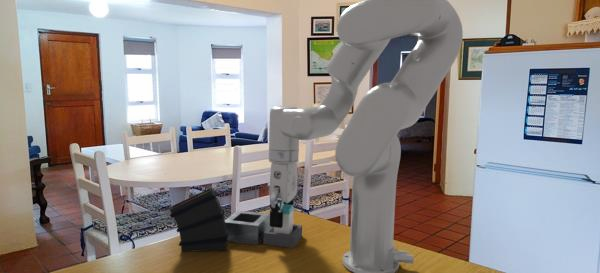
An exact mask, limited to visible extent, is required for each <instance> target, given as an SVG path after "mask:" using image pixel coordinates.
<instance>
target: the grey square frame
mask: <svg viewBox="0 0 600 273" xmlns="http://www.w3.org/2000/svg"><path fill="white" fill-rule="evenodd" d="M302 237H303V225H302V224H294V223H293V233H292V234H283V233H274V227H271V226H270V227H269V228H268V229H267V230H266V231H265V232H264V239H263V245H267V246H276V247H282V248H284V247H285V248H291V249H292V248H293V249H295V247H297V245H298V243H299V241H300V240H301V239H302Z"/></svg>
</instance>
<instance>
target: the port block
mask: <svg viewBox="0 0 600 273" xmlns="http://www.w3.org/2000/svg"><path fill="white" fill-rule="evenodd" d="M224 220H225V223H226V232H228V239H227V242H229V243H230V242H232V243H239V244H247V245H257V246H259V244H260V243H261V242H262V241H264V232H265V231H266V230H267V229H268V228H269V227H270V213H263V212H253V211H245V210H244V211H243V210H236V211H235V212H234V213H233V214H231V215H230V216H228V217H227V218H226V219H224Z"/></svg>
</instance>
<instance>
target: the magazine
mask: <svg viewBox="0 0 600 273" xmlns="http://www.w3.org/2000/svg"><path fill="white" fill-rule="evenodd" d="M217 194H218V192H217V190H214V189H213V187H210V188H208V189H205V190H203V191H201V192H198V193H197V194H194V195H193V196H191V197H189V198H186V199H184V200H182V201H180V202H178V203H176V204H173V205H172V206H171V207H170V208H169V211H170V215H169V217H170V218H171V219H174V221H175V224H176V226H177V229H176V232H177V233H179V237H180V238H179V239H180V241H179V243H178V246H179V247H180V250H181V252H219V251H220V252H225V251H227V248H228V241H227V239H228V232H226V223H225V220H226V219H225V217H224V216H225V210H224V208H223V209H222V207H221V203H220V201H219V198H218V197H217V196H218V195H217Z"/></svg>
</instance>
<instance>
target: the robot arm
mask: <svg viewBox="0 0 600 273" xmlns="http://www.w3.org/2000/svg"><path fill="white" fill-rule="evenodd" d="M337 20H338V21H337V26H336V32H337V33H336V34H337V36H338V38H339V41H341V42H340V44H339V45H338V47H337V48H336V50H335V52H334V53H333V55H332V57H331V58H330V59H329V61H328V63H327V64H326V71H327V73H328V74H329V76H330V79H331V84H330V88H329V90H328V92H327V94H326V96H325V97H324V99H323V100H322V102H321V103H320V105H318V106H313V107H305V108H298V107H296V106H290V105H275V106H273V107H272V108H271V109H270V111H269V124H268V125H269V129H268V130H269V131H268V133H269V136H268V162H269V163H271V165H270V175H269V194H268V195H269V214H270V226H271V227H277V228H282V226H283V212H282V207H283V204H287V205H294V198H295V197H296V196H297V194H298V162H299V153H300V151H299V150H300V141H310V140H315V139H318V138H323V137H327V136H330V135H332V134H333V133H335V132H336V130H337V129H338V128H339V127H340V126H341V124H342V123H343V121H344V120H345V119H346V117H347V116H348V114H349V113H350V111H351V109H352V108H353V106H354V104H355V100H356V98H357V94H358V90H359V86H360V85H361V84H362V81H363V80H364V79H365V77H366V76H367V74H368V73H369V71H370V70H371V68H372V67H373V65H374V64H375V63H376V61H377V60H378V59H379V57H380V55H381V54H382V53H383V51H384V50H385V48H386V47H387V46H388V44H389V43H390V42H391V40H392V39H395V38H399V37H403V36H408V35H411V36H415V37H417V41H416V42H417V43H416V44H415V46H414V47H413V49H411V51H410V52H409V53H408V54H407V55H406V57H405V58H404V60H403V62H402V65H401V66H400V68H399V69H398V70H397V72H396V74H395V75H394V77H393V79H391V81H390V82H382V83H380V84H376V85H374V86H372V87H371V88H370V89H369V90H368V91H367V92H366V93H365V94H364V96H363V97H362V98H361V99H360V100H359V103H358V105H357V106H356V108H355V109H354V111H353V113H352V115H351V117H350V118H349V120H348V122H347V123H346V125H345V127H344V128H343V130H342V132H341V135H340V136H339V138H338V140H337V143H336V146H335V153H334V154H335V155H334V156H335V160H336V163H337V165H338V167H339V169H340V170H341V171H342V172H343V173H344V174H346V175H347V176H350V177H353V179H352V186H351V189H352V190H351V209H350V210H351V211H350V212H351V213H350V238H349V241H350V243H349V251H347V252H345V253H344V254H343V256H342V264H343V266H344V267H345V268H346V269H347V270H348V271H350V272H352V273H397V271H398V270H399V268H400V263H405V264H408V265H410V264H411V265H414V257H415V256H414V254H409V251H408V250H399V249H398V248H395V245H396V244H395V242H394V235H395V234H394V231H395V212H396V211H395V210H396V194H397V182H398V181H397V180H398V173H399V166H400V161H401V154H402V148H401V142H400V139H399V137H398V133H399V132H400V131H401V130H404V129H408V128H410V127H412V126H413V125H415V124H416V123H417V122H418V120H419V119H420V118H421V117H422V115H423V113H424V111H425V109H426V108H427V106H428V104H429V103H430V102H431V100H432V98H433V97H434V95H435V94H436V92H437V90H438V89H439V87H440V85H441V83H442V82H443V80H444V79H445V78H446V75H447V74H448V73H449V71H450V70H451V67H452V66H453V64H454V63H455V61H456V59H457V57H458V54H459V53H460V50H461V47H462V43H463V34H464V31H463V25H462V22H461V18H460V16H459V15H458V13H457V11H456V9H455V8H454V7H453V5H452V4H451V3H450V1H448V0H361V1H358V2H357V3H354V4H351V5H350V6H349V7H347V8H345V10H343V11H342V13H341V14H340V16H339V18H338V19H337ZM278 204H280V205H279V206H278Z"/></svg>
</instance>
